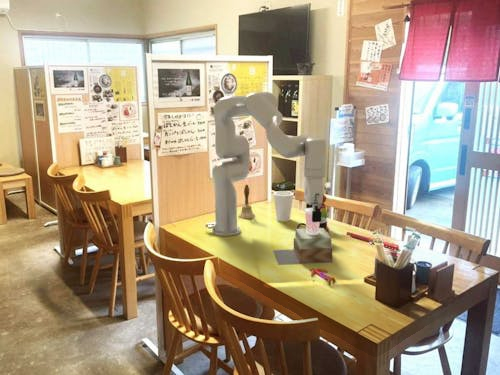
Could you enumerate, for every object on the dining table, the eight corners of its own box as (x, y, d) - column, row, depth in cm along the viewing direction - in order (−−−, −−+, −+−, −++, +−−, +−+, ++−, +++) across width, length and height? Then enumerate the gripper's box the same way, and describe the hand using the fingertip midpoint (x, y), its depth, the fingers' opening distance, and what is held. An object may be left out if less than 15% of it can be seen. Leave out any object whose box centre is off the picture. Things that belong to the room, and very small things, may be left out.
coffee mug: (328, 240, 190) (328, 217, 187) (324, 247, 182) (325, 224, 180) (300, 237, 193) (301, 215, 191) (296, 244, 186) (296, 221, 183)
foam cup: (293, 222, 213) (293, 196, 210) (273, 222, 213) (274, 196, 210) (291, 216, 223) (292, 191, 219) (273, 216, 223) (273, 191, 220)
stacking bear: (329, 232, 199) (331, 193, 195) (306, 232, 200) (307, 193, 195) (326, 225, 210) (327, 187, 206) (304, 224, 210) (305, 187, 206)
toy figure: (318, 270, 161) (318, 263, 161) (341, 283, 151) (341, 275, 151) (300, 275, 157) (300, 268, 157) (322, 288, 147) (323, 281, 147)
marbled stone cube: (299, 262, 164) (300, 239, 162) (293, 250, 176) (294, 228, 174) (331, 261, 165) (332, 238, 163) (323, 249, 177) (324, 227, 175)
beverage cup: (312, 236, 165) (313, 199, 161) (300, 232, 169) (301, 196, 166) (324, 233, 168) (325, 197, 165) (312, 229, 173) (313, 193, 170)
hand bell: (236, 214, 226) (236, 183, 222) (252, 213, 228) (252, 182, 224) (240, 219, 218) (240, 187, 215) (257, 218, 220) (257, 186, 217)
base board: (278, 267, 163) (278, 264, 163) (272, 253, 176) (272, 250, 176) (332, 265, 165) (332, 262, 164) (322, 251, 178) (323, 248, 178)
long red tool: (394, 253, 178) (400, 247, 181) (394, 249, 177) (400, 243, 180) (343, 238, 195) (349, 233, 197) (343, 234, 194) (349, 229, 197)
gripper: (299, 168, 171) (298, 211, 175) (309, 177, 154) (308, 225, 158) (319, 167, 172) (317, 210, 176) (331, 177, 155) (329, 224, 159)
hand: (313, 217), depth 167 cm, fingers open, 9 cm apart
